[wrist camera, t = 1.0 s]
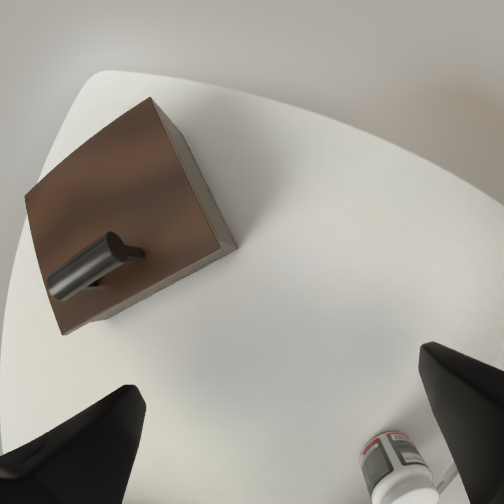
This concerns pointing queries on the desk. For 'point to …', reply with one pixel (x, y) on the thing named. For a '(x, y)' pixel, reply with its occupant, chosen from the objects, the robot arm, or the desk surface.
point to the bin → (208, 206)
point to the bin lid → (116, 219)
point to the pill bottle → (396, 471)
